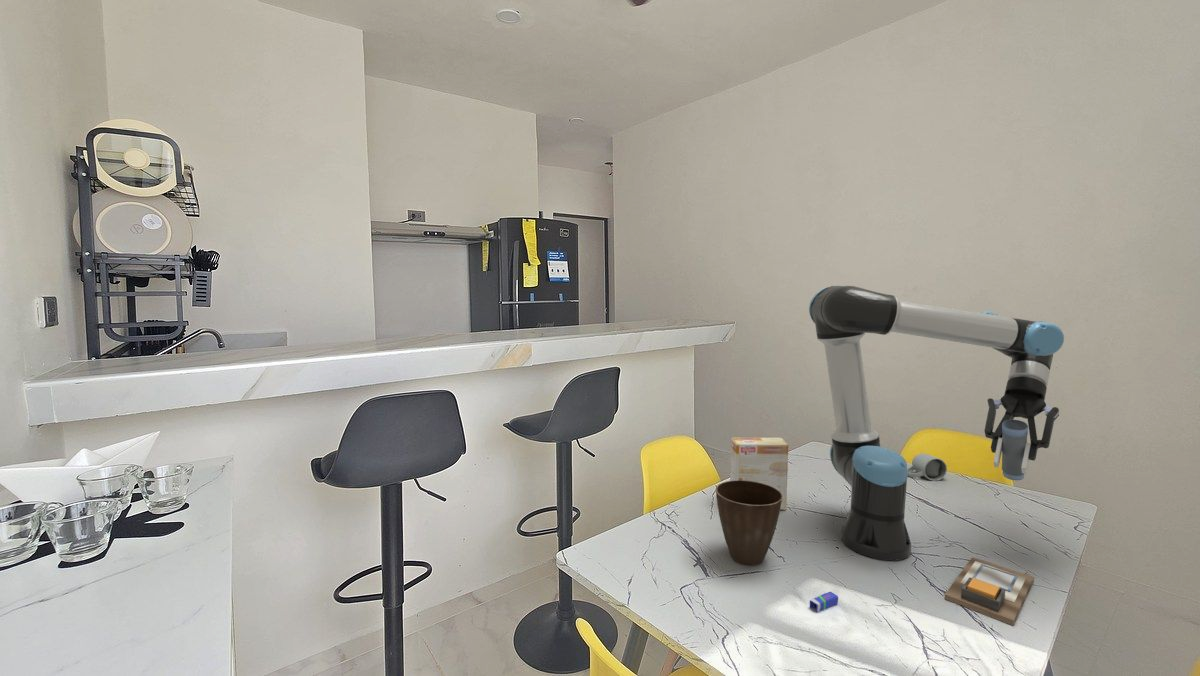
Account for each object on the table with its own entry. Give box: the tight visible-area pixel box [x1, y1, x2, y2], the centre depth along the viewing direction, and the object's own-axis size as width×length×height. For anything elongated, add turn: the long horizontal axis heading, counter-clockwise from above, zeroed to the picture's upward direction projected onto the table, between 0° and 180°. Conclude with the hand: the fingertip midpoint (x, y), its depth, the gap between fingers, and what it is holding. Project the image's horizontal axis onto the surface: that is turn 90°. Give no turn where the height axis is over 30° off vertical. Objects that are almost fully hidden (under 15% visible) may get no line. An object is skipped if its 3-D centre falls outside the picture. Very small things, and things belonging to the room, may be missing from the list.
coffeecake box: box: [729, 436, 789, 511], centre depth 147 cm, size 15×7×20 cm, turn 88°
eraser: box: [809, 591, 839, 613], centre depth 100 cm, size 2×6×2 cm, turn 116°
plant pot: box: [715, 480, 782, 566], centre depth 118 cm, size 15×15×16 cm
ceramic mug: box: [907, 453, 948, 482], centre depth 170 cm, size 11×8×8 cm
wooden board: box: [944, 556, 1035, 626], centre depth 106 cm, size 22×11×3 cm, turn 132°
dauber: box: [1001, 419, 1029, 481], centre depth 118 cm, size 5×5×14 cm
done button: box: [967, 578, 1000, 600], centre depth 101 cm, size 4×4×2 cm
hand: (1009, 467), depth 115 cm, fingers closed on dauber, 4 cm apart
